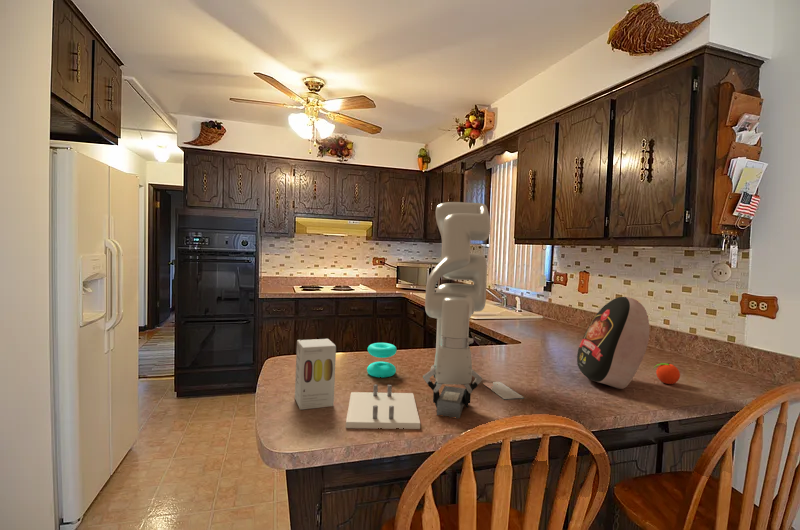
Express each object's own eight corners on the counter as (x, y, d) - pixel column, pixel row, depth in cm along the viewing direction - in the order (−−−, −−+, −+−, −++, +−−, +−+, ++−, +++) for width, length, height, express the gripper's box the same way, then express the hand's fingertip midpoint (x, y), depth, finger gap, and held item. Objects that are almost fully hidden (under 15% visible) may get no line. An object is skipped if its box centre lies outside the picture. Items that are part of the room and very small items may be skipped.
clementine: (654, 384, 141) (656, 364, 141) (650, 378, 148) (651, 359, 147) (681, 388, 138) (683, 367, 138) (676, 382, 145) (677, 362, 144)
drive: (444, 399, 120) (444, 385, 120) (464, 402, 118) (465, 388, 118) (436, 415, 108) (437, 400, 108) (459, 418, 107) (460, 403, 107)
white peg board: (350, 397, 119) (351, 381, 119) (412, 398, 120) (413, 383, 120) (345, 428, 99) (346, 409, 99) (419, 429, 100) (420, 410, 100)
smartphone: (504, 399, 121) (481, 382, 136) (504, 401, 121) (481, 384, 136) (525, 397, 123) (499, 381, 138) (525, 399, 123) (499, 383, 138)
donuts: (371, 349, 135) (364, 342, 144) (370, 379, 135) (363, 370, 144) (400, 348, 138) (392, 341, 147) (399, 377, 138) (391, 368, 148)
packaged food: (568, 371, 152) (573, 291, 151) (622, 374, 151) (628, 293, 150) (592, 392, 130) (598, 299, 129) (656, 396, 129) (663, 301, 128)
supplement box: (299, 410, 108) (301, 347, 107) (293, 398, 117) (295, 339, 116) (335, 406, 112) (336, 345, 111) (327, 394, 120) (328, 337, 120)
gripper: (482, 339, 117) (479, 401, 117) (421, 338, 116) (418, 399, 116) (489, 346, 109) (486, 411, 110) (424, 344, 108) (421, 410, 109)
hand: (451, 405), depth 113 cm, fingers closed on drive, 7 cm apart
